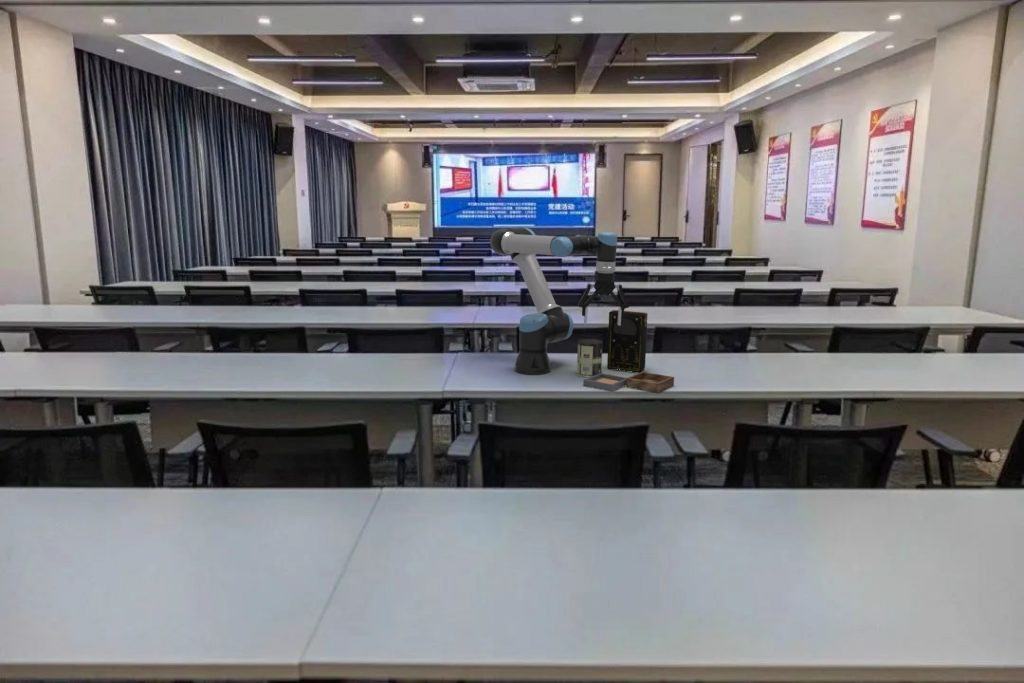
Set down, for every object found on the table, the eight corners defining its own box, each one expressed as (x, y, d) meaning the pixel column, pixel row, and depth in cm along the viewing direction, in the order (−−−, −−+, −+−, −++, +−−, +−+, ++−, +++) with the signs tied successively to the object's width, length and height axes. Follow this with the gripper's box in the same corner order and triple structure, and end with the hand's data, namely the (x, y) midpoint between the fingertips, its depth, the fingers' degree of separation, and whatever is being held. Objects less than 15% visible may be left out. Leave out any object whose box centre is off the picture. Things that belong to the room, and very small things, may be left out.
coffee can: (599, 371, 288) (600, 338, 285) (603, 377, 278) (605, 343, 275) (574, 371, 287) (575, 338, 284) (578, 377, 277) (579, 343, 274)
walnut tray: (625, 387, 264) (626, 378, 263) (642, 380, 274) (642, 371, 273) (658, 393, 256) (658, 384, 255) (673, 385, 266) (674, 376, 265)
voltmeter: (605, 369, 291) (607, 311, 286) (612, 365, 298) (614, 308, 293) (641, 374, 283) (643, 314, 278) (647, 369, 291) (649, 311, 286)
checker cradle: (583, 385, 265) (583, 379, 265) (600, 379, 275) (600, 373, 275) (612, 391, 257) (613, 385, 257) (629, 384, 267) (629, 378, 267)
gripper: (575, 272, 267) (572, 325, 272) (638, 274, 268) (634, 327, 273) (572, 269, 274) (570, 321, 279) (634, 271, 275) (631, 323, 280)
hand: (602, 324), depth 276 cm, fingers open, 13 cm apart
